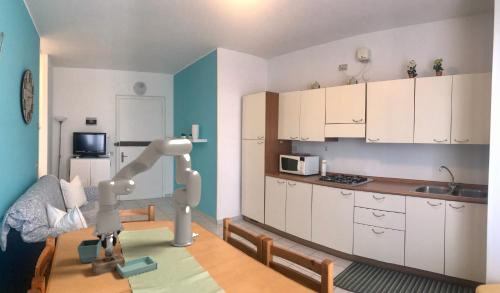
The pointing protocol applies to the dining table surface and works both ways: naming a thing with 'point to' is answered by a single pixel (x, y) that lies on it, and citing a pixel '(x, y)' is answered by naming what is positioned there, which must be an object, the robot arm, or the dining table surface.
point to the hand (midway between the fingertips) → (109, 246)
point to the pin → (109, 244)
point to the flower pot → (89, 250)
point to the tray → (137, 266)
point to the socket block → (107, 264)
